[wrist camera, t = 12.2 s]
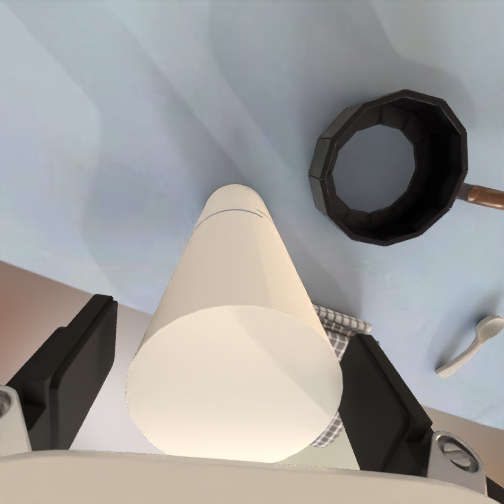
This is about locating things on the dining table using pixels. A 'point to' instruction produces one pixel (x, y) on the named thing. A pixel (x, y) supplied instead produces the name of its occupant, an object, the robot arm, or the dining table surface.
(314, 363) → the cylindrical container
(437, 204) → the pan
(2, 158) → the dining table surface
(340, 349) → the towel
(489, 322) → the spoon
